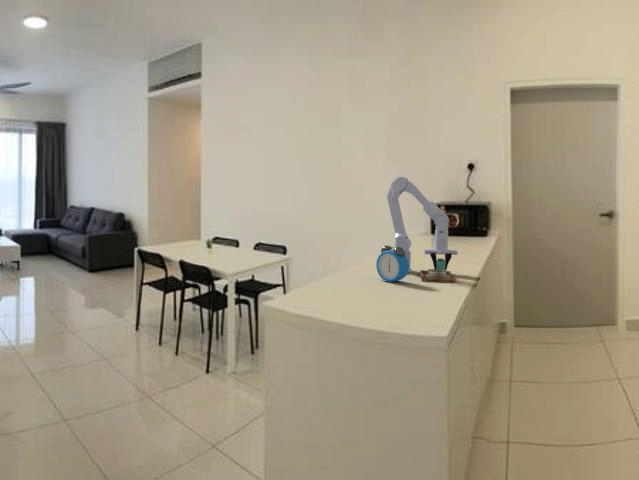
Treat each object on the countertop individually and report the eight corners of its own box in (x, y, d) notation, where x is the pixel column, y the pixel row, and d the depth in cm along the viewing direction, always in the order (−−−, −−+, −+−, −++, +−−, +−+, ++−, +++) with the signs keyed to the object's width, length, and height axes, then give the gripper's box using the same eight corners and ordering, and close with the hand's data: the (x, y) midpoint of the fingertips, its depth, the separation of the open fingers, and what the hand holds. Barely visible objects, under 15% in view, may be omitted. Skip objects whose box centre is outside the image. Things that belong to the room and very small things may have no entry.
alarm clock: (375, 279, 195) (376, 245, 193) (384, 277, 199) (385, 243, 197) (400, 284, 185) (401, 248, 183) (409, 282, 190) (410, 247, 188)
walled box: (422, 281, 192) (422, 272, 191) (419, 275, 204) (420, 266, 204) (453, 282, 190) (454, 273, 189) (449, 276, 203) (449, 267, 202)
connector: (436, 274, 207) (436, 259, 206) (435, 272, 211) (435, 258, 210) (445, 274, 206) (445, 259, 205) (444, 272, 210) (444, 258, 209)
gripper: (425, 241, 204) (424, 271, 205) (459, 242, 202) (457, 272, 203) (424, 239, 211) (423, 268, 212) (456, 240, 208) (455, 269, 210)
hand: (440, 269), depth 208 cm, fingers closed on connector, 4 cm apart
